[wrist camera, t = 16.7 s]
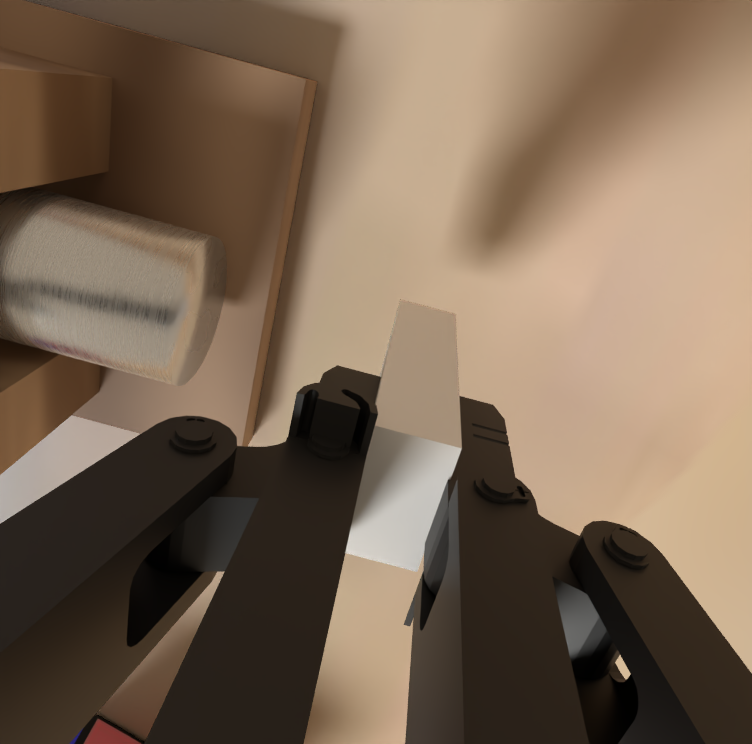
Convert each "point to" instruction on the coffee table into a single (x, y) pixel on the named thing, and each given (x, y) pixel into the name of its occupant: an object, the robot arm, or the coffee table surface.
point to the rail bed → (150, 199)
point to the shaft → (108, 285)
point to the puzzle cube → (104, 734)
